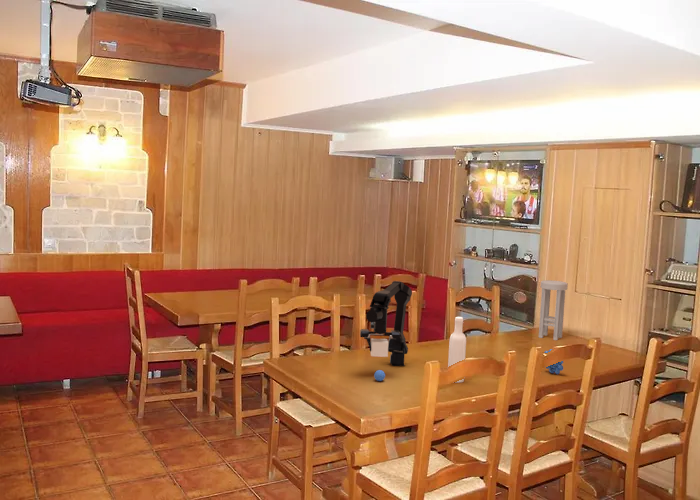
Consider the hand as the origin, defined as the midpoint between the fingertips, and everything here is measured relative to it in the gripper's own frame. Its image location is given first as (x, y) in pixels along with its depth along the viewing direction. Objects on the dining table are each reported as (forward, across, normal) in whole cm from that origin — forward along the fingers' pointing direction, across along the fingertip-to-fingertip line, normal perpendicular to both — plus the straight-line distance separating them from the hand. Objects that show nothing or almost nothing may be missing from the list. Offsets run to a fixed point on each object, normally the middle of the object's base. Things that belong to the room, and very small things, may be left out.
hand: (379, 351), depth 316 cm
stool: (+11, -114, -98) cm, 151 cm away
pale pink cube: (+1, 0, 0) cm, 1 cm away
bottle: (+11, -36, +5) cm, 38 cm away
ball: (+9, 0, +10) cm, 13 cm away
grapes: (+11, -87, -13) cm, 89 cm away
